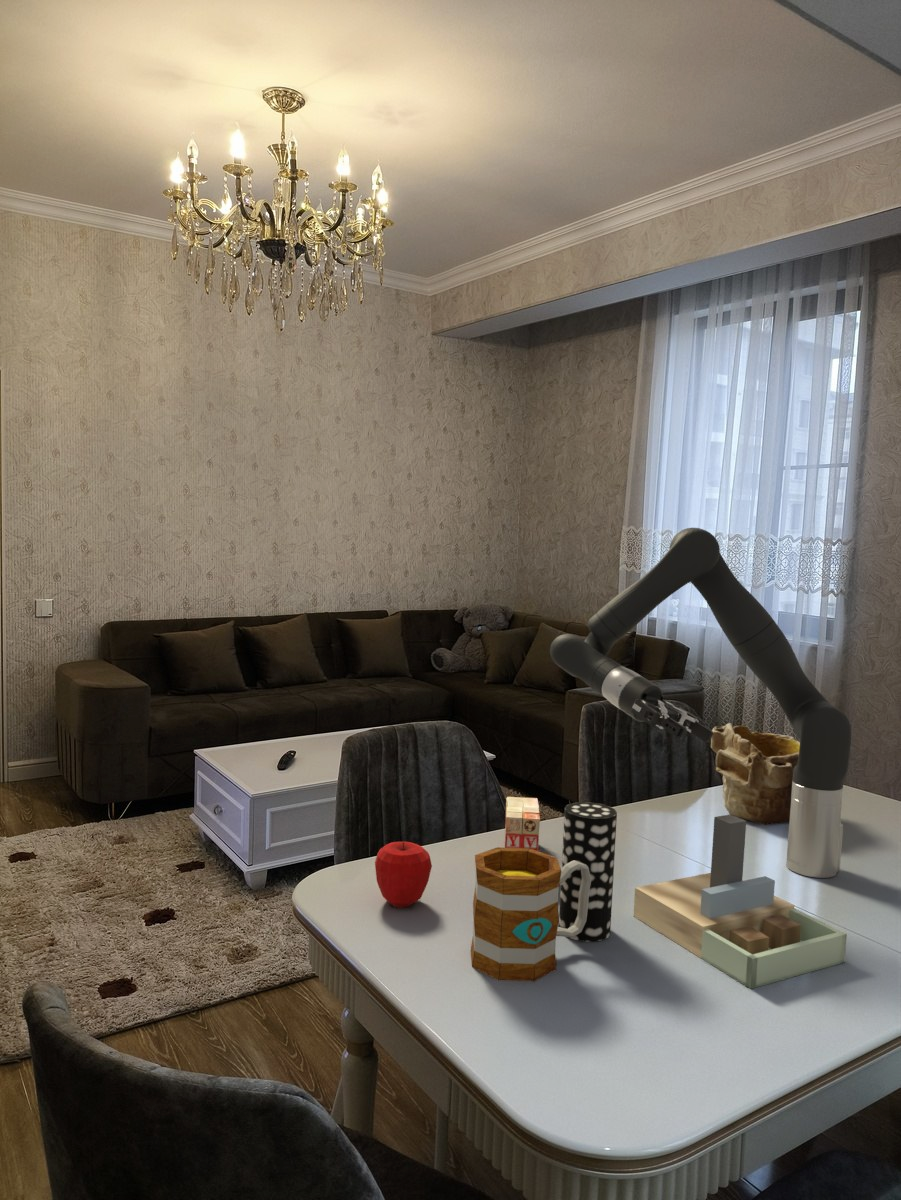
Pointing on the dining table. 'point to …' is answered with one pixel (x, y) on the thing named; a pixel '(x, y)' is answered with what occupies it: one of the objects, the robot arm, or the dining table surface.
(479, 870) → the mug
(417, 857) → the apple
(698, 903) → the board
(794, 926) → the brown wood cube
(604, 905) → the spotted tube
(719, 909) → the scraper
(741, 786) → the ceramic vessel
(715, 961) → the tray
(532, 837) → the stack of blocks
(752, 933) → the brown wooden cube
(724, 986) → the dining table surface
